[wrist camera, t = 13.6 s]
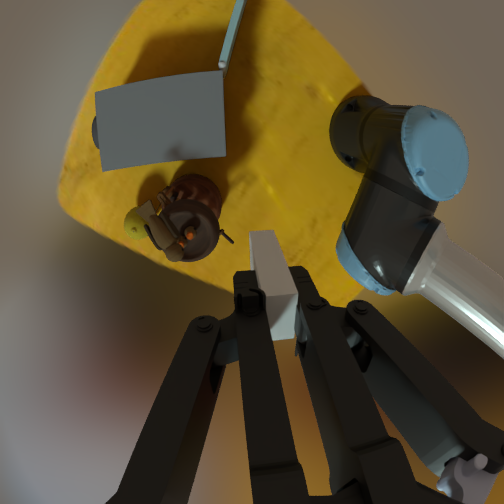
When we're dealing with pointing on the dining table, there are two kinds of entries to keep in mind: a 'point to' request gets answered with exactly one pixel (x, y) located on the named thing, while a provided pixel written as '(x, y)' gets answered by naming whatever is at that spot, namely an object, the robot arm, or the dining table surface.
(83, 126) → the dining table surface
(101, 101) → the case
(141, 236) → the lemon
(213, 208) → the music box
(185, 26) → the dining table surface
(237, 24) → the side door
